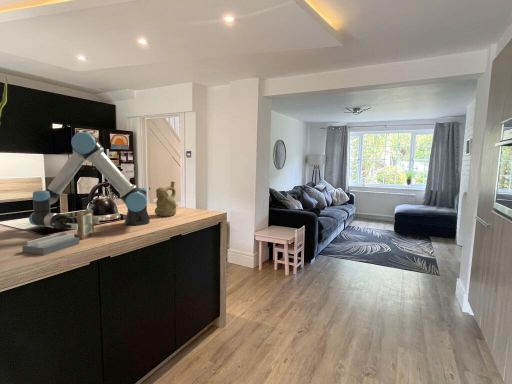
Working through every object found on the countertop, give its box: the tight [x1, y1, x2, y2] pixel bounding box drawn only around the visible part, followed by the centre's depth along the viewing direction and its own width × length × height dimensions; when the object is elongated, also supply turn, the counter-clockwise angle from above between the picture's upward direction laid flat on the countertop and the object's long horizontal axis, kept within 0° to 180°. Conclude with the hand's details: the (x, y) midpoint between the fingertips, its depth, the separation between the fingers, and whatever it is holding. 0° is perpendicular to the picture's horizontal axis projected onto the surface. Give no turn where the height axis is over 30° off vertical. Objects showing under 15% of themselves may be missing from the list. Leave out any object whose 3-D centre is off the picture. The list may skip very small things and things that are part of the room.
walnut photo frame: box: [76, 209, 95, 241], centre depth 152 cm, size 9×3×14 cm, turn 173°
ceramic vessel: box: [154, 180, 178, 217], centre depth 217 cm, size 17×20×25 cm
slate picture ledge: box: [22, 231, 80, 256], centre depth 134 cm, size 18×12×5 cm, turn 165°
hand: (88, 224), depth 151 cm, fingers open, 13 cm apart
